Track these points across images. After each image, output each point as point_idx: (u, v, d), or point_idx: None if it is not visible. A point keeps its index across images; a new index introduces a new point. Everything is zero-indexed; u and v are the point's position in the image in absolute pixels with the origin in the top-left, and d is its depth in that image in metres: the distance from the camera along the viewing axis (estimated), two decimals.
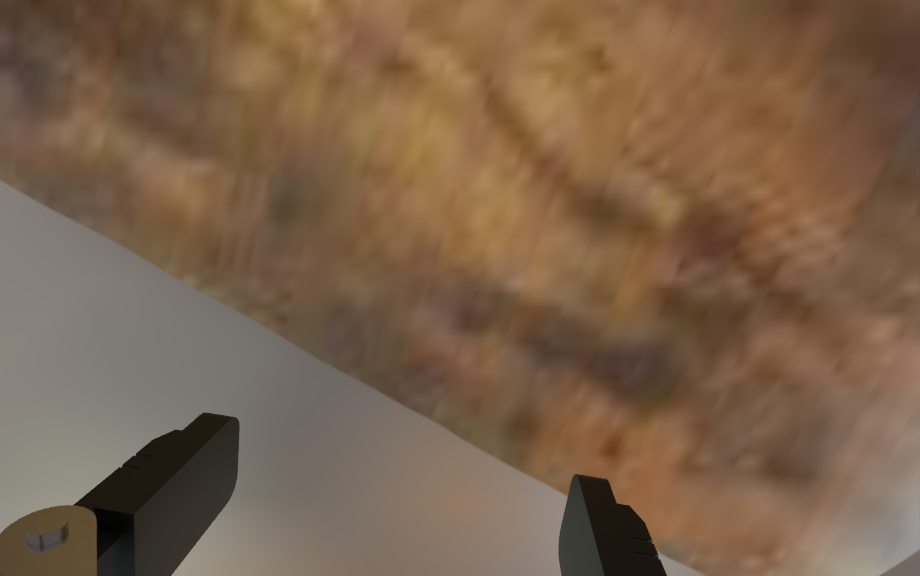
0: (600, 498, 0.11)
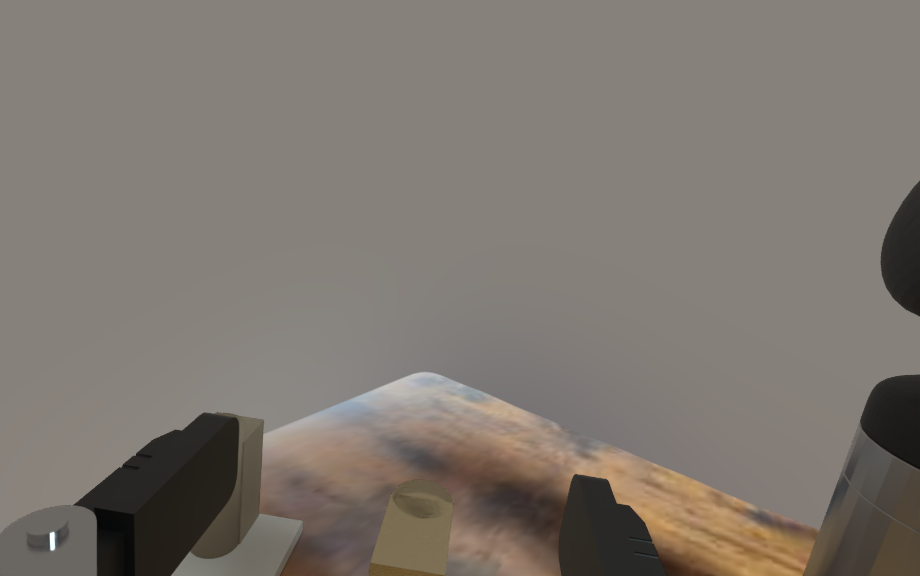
0: (600, 498, 0.11)
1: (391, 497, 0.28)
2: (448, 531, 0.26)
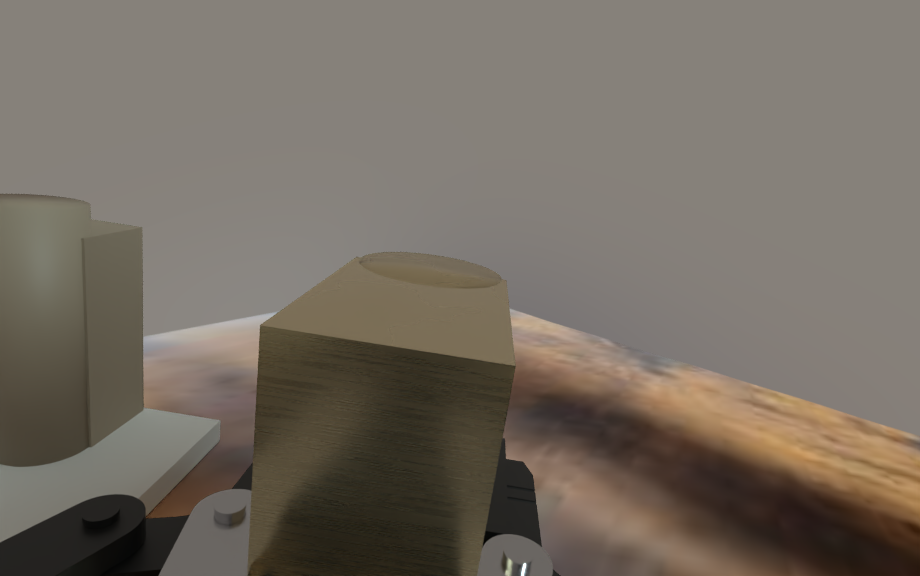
0: None
1: (355, 260, 0.11)
2: (504, 306, 0.10)
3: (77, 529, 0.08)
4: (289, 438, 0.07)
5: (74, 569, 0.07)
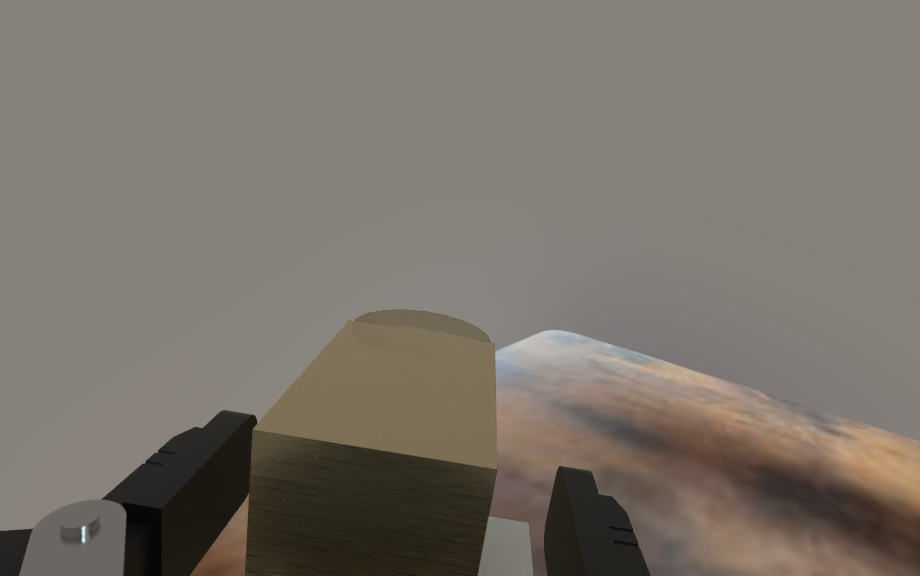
0: (583, 489, 0.11)
1: (347, 325, 0.12)
2: (491, 383, 0.10)
3: None
4: (280, 533, 0.08)
5: None
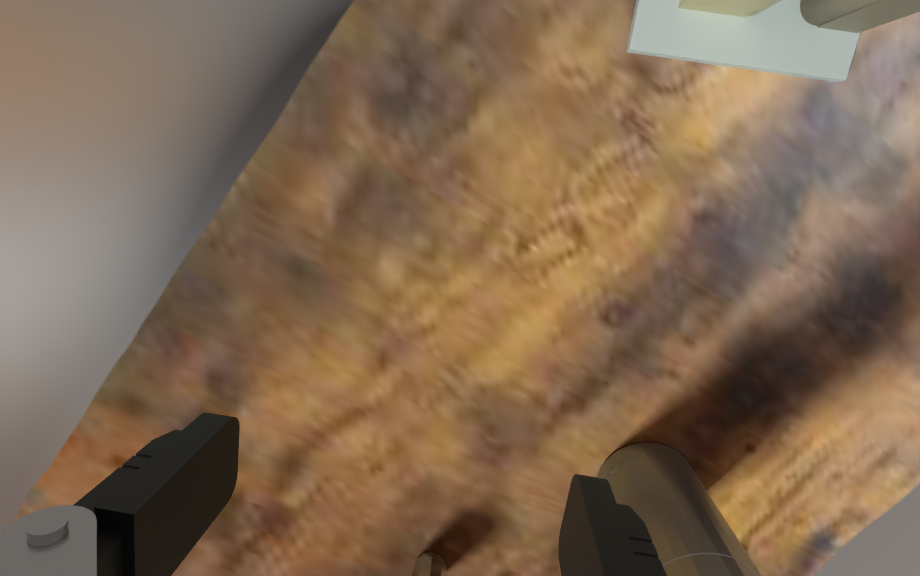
0: (600, 498, 0.11)
1: None
2: None
3: None
4: None
5: None
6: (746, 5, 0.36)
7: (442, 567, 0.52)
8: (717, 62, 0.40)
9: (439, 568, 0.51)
